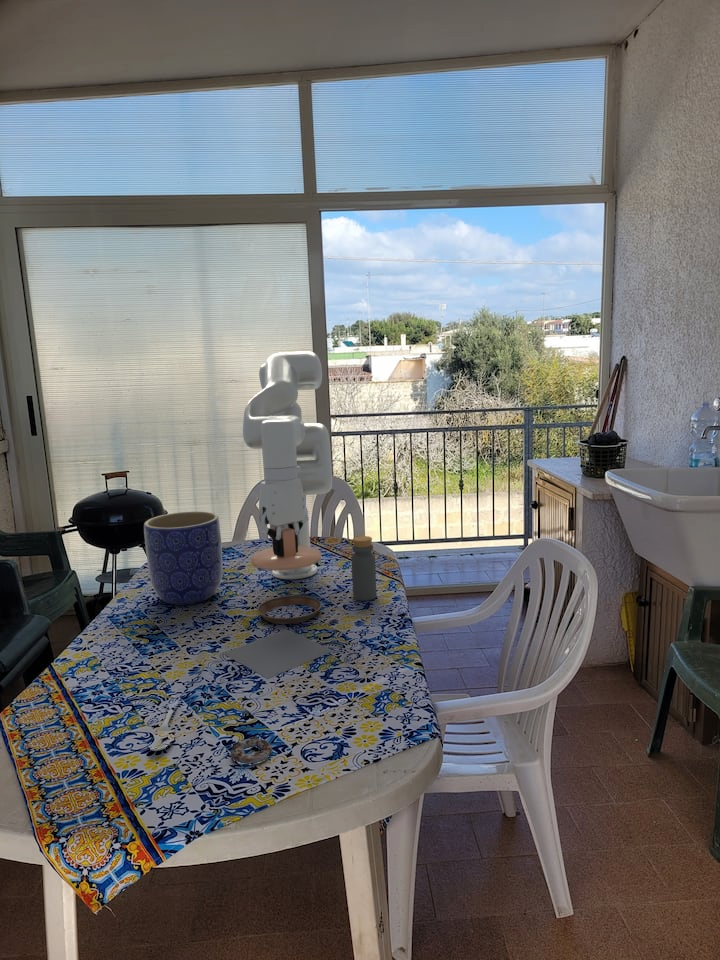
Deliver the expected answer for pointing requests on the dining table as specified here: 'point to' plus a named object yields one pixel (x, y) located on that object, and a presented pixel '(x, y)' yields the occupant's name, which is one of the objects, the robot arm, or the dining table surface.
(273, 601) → the brown ring
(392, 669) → the dining table surface
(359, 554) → the bottle
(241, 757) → the donut
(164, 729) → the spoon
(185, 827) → the dining table surface
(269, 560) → the lid
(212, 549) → the planter
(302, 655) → the mat
